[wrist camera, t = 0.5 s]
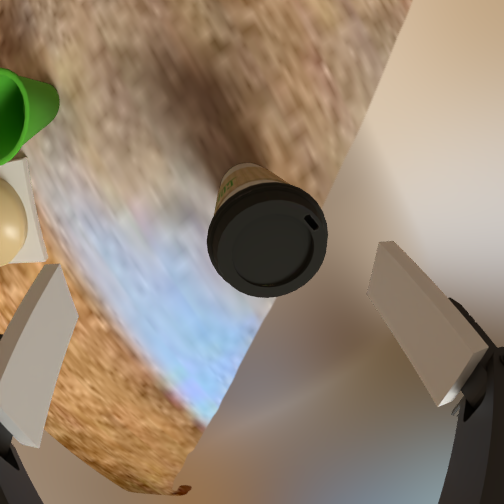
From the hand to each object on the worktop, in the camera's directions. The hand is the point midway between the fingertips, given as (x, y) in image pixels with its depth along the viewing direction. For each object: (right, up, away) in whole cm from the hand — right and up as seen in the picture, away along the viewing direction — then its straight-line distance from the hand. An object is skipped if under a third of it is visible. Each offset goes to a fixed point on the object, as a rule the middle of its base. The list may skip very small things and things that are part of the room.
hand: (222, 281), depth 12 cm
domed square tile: (-33, +6, +20) cm, 39 cm away
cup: (-23, +18, +15) cm, 33 cm away
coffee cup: (0, +9, +25) cm, 26 cm away
